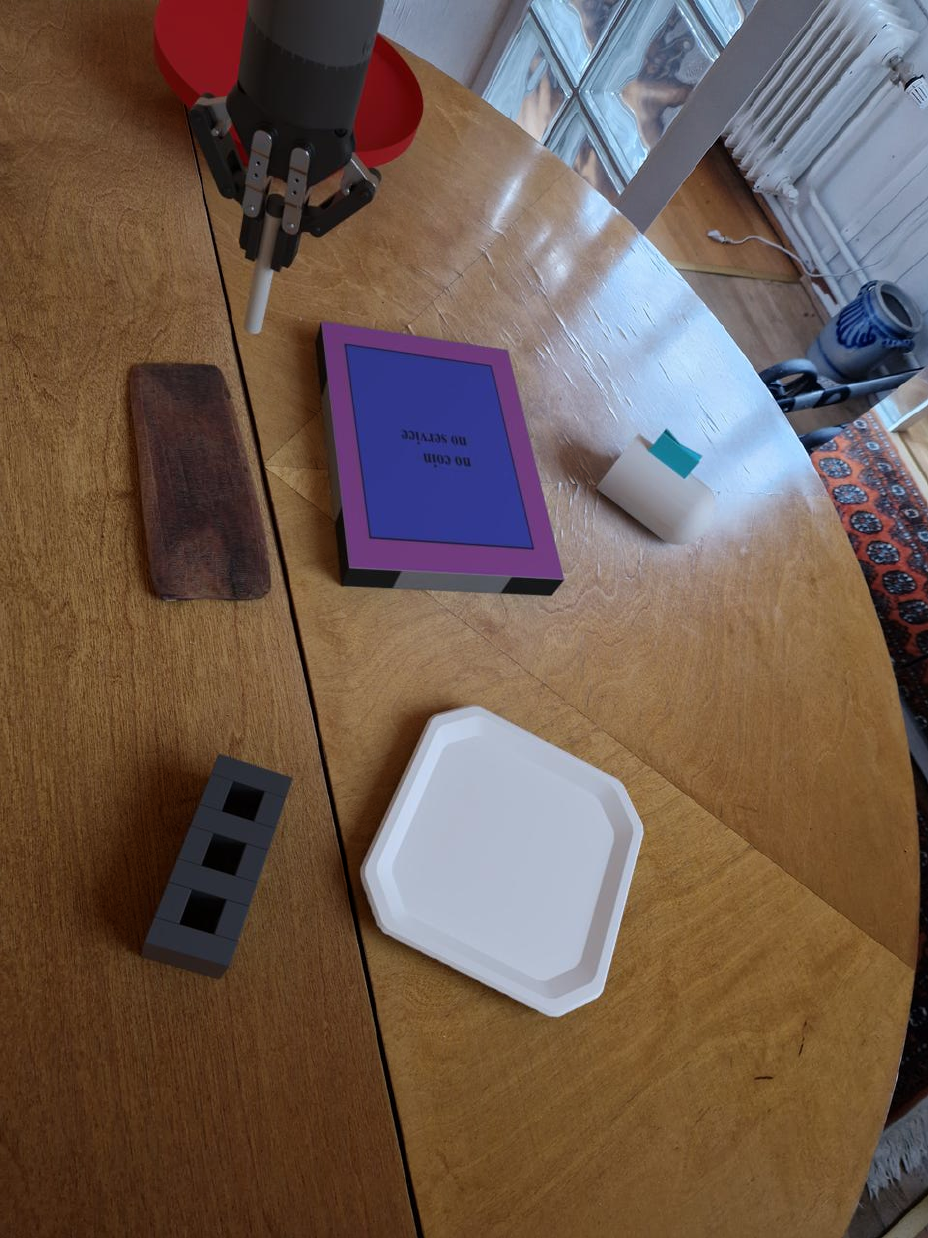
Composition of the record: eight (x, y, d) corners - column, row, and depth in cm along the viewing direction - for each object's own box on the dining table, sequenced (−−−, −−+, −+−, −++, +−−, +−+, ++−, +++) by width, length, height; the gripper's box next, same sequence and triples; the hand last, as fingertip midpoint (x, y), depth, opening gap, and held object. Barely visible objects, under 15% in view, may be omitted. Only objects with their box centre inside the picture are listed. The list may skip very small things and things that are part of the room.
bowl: (148, 35, 110) (152, -54, 102) (384, 94, 121) (405, 18, 113) (150, 196, 96) (156, 108, 88) (417, 246, 107) (443, 172, 99)
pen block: (220, 980, 60) (229, 967, 56) (140, 957, 59) (144, 942, 55) (281, 800, 68) (293, 777, 64) (211, 777, 67) (219, 753, 63)
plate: (436, 695, 77) (444, 684, 75) (641, 804, 79) (654, 796, 77) (334, 917, 65) (341, 910, 63) (579, 1040, 67) (593, 1037, 65)
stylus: (240, 328, 72) (264, 199, 62) (248, 319, 73) (273, 189, 63) (256, 337, 72) (282, 209, 62) (263, 327, 73) (291, 199, 63)
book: (508, 349, 99) (564, 579, 85) (498, 369, 101) (551, 595, 87) (321, 320, 91) (349, 568, 77) (315, 342, 94) (341, 586, 80)
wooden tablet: (125, 351, 82) (236, 350, 85) (127, 368, 84) (235, 367, 87) (150, 599, 71) (277, 588, 74) (152, 613, 73) (275, 601, 76)
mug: (739, 498, 89) (643, 425, 89) (681, 565, 93) (590, 495, 94) (747, 472, 99) (661, 406, 99) (694, 533, 103) (612, 470, 104)
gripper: (432, 45, 56) (363, 267, 70) (222, -58, 54) (194, 194, 68) (406, 101, 52) (338, 326, 66) (177, -9, 49) (156, 249, 63)
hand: (265, 258), depth 67 cm, fingers closed on stylus, 1 cm apart
